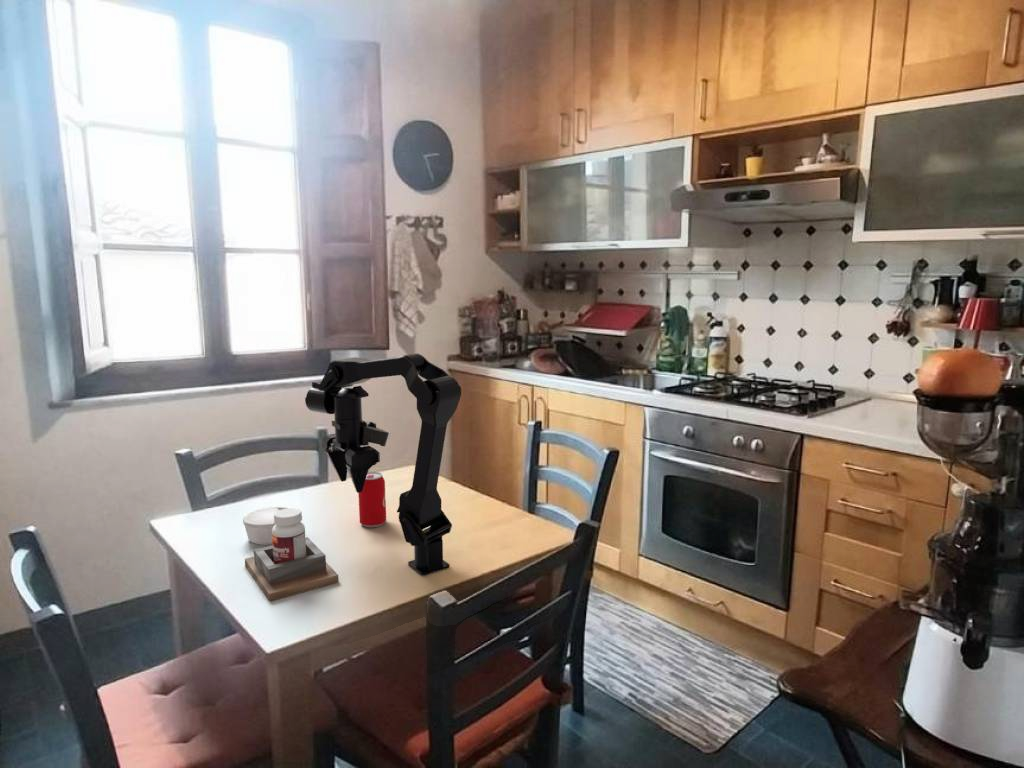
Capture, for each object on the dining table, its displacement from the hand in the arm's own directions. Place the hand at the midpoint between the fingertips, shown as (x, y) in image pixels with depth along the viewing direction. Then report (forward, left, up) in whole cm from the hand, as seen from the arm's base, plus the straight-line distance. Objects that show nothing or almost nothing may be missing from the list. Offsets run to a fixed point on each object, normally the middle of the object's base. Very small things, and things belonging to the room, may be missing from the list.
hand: (351, 486), depth 142 cm
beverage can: (+8, -8, -13) cm, 17 cm away
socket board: (-7, +16, -13) cm, 22 cm away
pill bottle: (-7, +16, -12) cm, 21 cm away
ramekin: (+14, +14, -13) cm, 24 cm away
